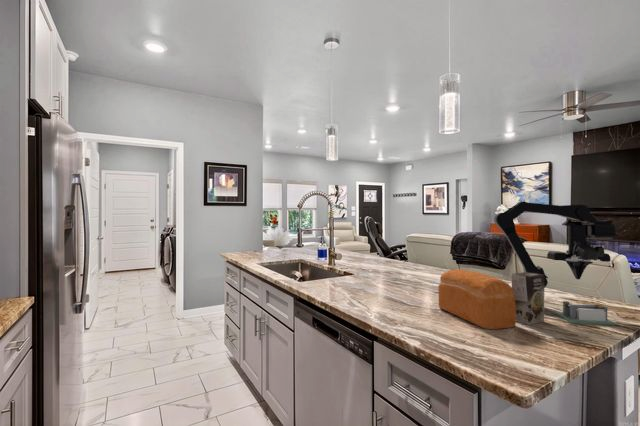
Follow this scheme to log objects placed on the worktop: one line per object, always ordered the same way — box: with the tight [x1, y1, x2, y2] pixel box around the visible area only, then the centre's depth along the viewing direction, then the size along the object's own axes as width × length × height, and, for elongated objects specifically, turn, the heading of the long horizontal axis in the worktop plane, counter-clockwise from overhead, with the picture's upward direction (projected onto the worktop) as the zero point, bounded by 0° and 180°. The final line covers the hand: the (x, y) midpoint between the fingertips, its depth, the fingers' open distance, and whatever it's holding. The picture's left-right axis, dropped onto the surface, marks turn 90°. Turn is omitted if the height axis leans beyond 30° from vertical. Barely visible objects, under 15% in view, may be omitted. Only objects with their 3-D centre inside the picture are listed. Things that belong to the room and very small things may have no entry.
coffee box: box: [511, 271, 546, 326], centre depth 112 cm, size 9×6×16 cm
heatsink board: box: [554, 300, 616, 326], centre depth 114 cm, size 13×10×5 cm
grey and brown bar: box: [566, 302, 603, 309], centre depth 114 cm, size 10×2×2 cm, turn 81°
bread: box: [438, 268, 517, 330], centre depth 117 cm, size 14×26×16 cm, turn 15°
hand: (577, 279), depth 123 cm, fingers closed
